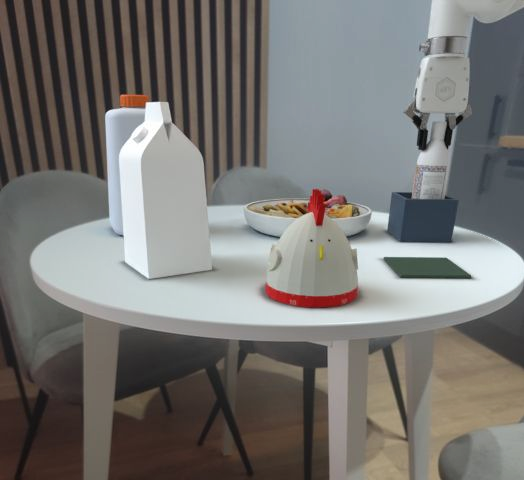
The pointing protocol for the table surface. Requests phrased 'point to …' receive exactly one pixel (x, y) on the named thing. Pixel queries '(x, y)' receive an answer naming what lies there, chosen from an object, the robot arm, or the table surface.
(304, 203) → the bowl
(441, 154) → the bath foam
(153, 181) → the milk
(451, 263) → the mat
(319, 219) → the kitchen timer
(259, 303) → the table surface
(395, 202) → the dark blue open box
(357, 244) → the table surface
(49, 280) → the table surface
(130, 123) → the plastic bottle
